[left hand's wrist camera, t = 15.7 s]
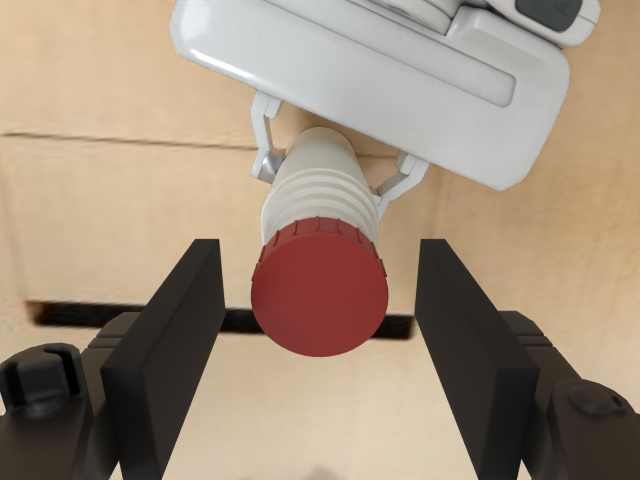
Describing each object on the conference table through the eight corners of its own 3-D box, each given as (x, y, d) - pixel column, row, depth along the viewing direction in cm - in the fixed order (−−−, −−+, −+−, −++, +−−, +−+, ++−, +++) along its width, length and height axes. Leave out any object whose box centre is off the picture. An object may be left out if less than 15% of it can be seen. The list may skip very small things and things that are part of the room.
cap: (304, 188, 14) (302, 204, 12) (408, 261, 14) (419, 285, 13) (232, 287, 15) (222, 313, 13) (333, 348, 16) (334, 380, 14)
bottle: (370, 160, 32) (439, 286, 13) (322, 211, 34) (324, 389, 15) (317, 111, 31) (313, 173, 12) (270, 165, 32) (200, 296, 14)
